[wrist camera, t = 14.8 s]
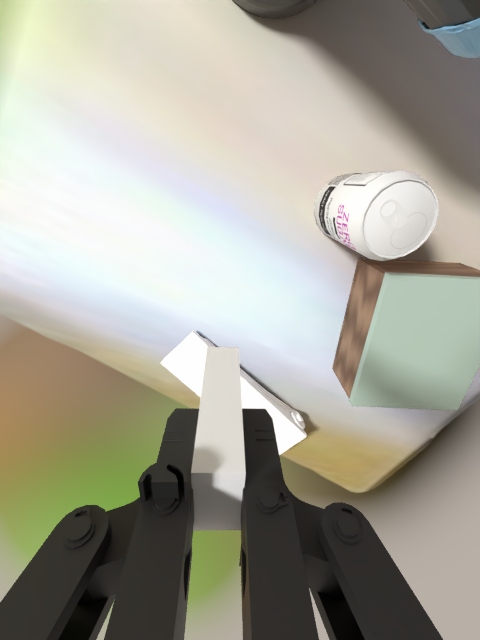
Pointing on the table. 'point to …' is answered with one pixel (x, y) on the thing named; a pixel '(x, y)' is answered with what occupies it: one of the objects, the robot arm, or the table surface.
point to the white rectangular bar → (190, 370)
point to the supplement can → (377, 212)
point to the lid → (420, 343)
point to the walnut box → (365, 302)
